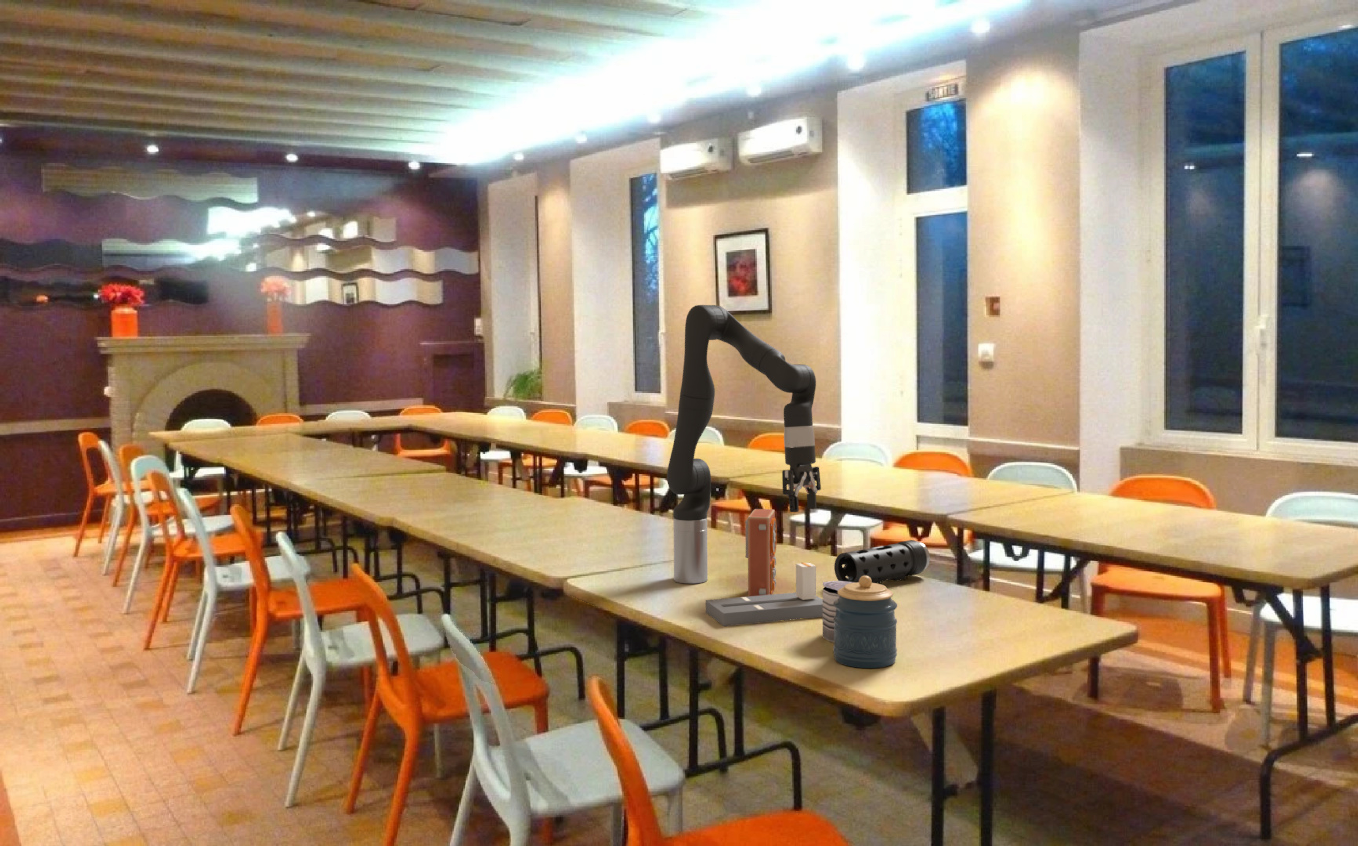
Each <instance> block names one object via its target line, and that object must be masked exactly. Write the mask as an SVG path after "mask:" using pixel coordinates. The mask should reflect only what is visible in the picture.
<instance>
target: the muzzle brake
mask: <svg viewBox="0 0 1358 846" xmlns="http://www.w3.org/2000/svg"><path fill="white" fill-rule="evenodd" d="M930 556H931V555H930V552H929V549H928V547H927V546H926V544H924V543H923V542H921V541H917V540H914V539H913V540H912V539H910V540H904V541H899V542H897V543H894V544H888V545H887V544H886V545H881V546H875V547H869V548H863V549H859V550H853V551H847V552H842V553H839V554H838V555H837V556H836V558H835V560H834V563H833V564H834V565H833V566H834V569H833V570H834V574H835V577H836V580H837V581H845V582H855V583H857V582H859V579H860V578H861V577H862V576H869V577H870V578H871V580H872V583H877V584H881V583H882V582H884V581H889V580H892V581H895V582H899V581H903V580H906V579H905V578H906V577H911V576H916V575H919V574H921V573H922V572H924V570H926V569H927V568H928V567H929V565H930V562H931V561H930V560H931V557H930ZM881 585H882V584H881Z"/></svg>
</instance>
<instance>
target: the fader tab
mask: <svg viewBox="0 0 1358 846" xmlns="http://www.w3.org/2000/svg"><path fill="white" fill-rule="evenodd" d="M795 592H796V596H797V597H799V598H800V599H802V600H807V599H816V596H817V566H816V565H815V564H813V563H810V562H800V563H795Z"/></svg>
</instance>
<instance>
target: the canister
mask: <svg viewBox="0 0 1358 846" xmlns="http://www.w3.org/2000/svg"><path fill="white" fill-rule="evenodd" d="M838 595H839V598H838V599H836V600H835V601H834V603H833V604H834V606H835V607H836V616H834V619H833V620H834V643H833V647H832V648H833V651H832V652H833V655H834V656H833V657H834V660H835V661H836V662H837V663H839V664H842V665H844V666H848V667H852V668H859V669H860V668H861V669H878V668H884V667H888V666H892V665H893V664H894V663H896V661H897V660H896V658H897V655H898V649H897V623H898V619H897V618H896V615H895V610H896V609H897V608H898V603H897V602H896V601H895V600H893V598H892V597H893V596H894V592H893V591H892V590H891V589H889V588H887V587H886V586H885V585H884V584H878V583H872V580H871V578H870V577H869V576H862V577H861V578H860V579H859V582H857V583H850V584H847V585H845V586H844V587H843V588H841V589H839V590H838Z"/></svg>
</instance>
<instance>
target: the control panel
mask: <svg viewBox="0 0 1358 846" xmlns="http://www.w3.org/2000/svg"><path fill="white" fill-rule="evenodd" d="M775 512H776V511H775V509H772V508H770V509H769V508H768V509H767V508H754V509H753V510H752V511H751V512H750V514H749V515H748V517H747V519H746V520H745V522H744V523H745V559H747V597H749V596H760V595H772V594H774V592H775V589H776V587H777V579H776V578H775V577H776V576H777V567H776V565H777V557H776V551H777V545H778V543H777V541H778V540H777V538H778V527H777V519H776V517H775V516H776V515H775Z"/></svg>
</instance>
